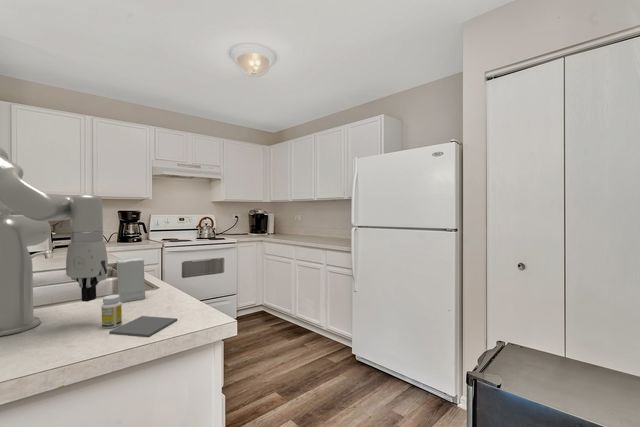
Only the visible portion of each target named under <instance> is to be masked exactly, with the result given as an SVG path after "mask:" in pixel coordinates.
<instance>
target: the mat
mask: <svg viewBox="0 0 640 427" xmlns="http://www.w3.org/2000/svg"><path fill="white" fill-rule="evenodd" d="M177 321H178V318H174V317H161V316H160V317H159V316H148V315H141V316H139V317H137V318H135V319H132V320H130V321H129V322H127V323H125V324H121V325H120V326H117V327H114V328H112V329H110V331H109V332H108V333H109V335H110V334H111V335H122V336H132V337H133V336H134V337H144V338H150V337H151V336H153V335H155V334H156V333H158V332H160V331H162V330H164V329H165V328H168V327H169V326H171V325H173V324H174V323H176V322H177Z"/></svg>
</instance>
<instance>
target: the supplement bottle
mask: <svg viewBox="0 0 640 427" xmlns="http://www.w3.org/2000/svg"><path fill="white" fill-rule="evenodd" d="M102 303H103V304H102V305H101V327H102V328H103V329H115V328H118V327H120V326H122V325H123V324H122V323H123V318H122V317H123V316H122V315H123V314H122V313H123V312H122V303H121V302H120V296H119V295H118V294H110V295H106V296H103V297H102Z"/></svg>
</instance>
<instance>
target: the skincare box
mask: <svg viewBox="0 0 640 427" xmlns="http://www.w3.org/2000/svg"><path fill="white" fill-rule="evenodd" d="M116 276H117V278H116V279H117V295H119V296H120V302H122V303H127V302H132V301H133V302H134V301H137V300H144V299H146V284H145V282H146V280H145V259H143V258H142V257H134V258H128V259H118V260H116Z"/></svg>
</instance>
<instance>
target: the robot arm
mask: <svg viewBox="0 0 640 427" xmlns="http://www.w3.org/2000/svg"><path fill="white" fill-rule="evenodd" d="M23 176H24V170H23V168H22V167H21V166H20V165H18V164H17V163H14V162H13V161H11V160H10V159H9V156H8V153H7V152H6V151H5V150H4V149H3V148H2V147H1V146H0V337H2V336H8V335H9V336H10V335H14V334H17V333H21V332H26V331H27V330H28V331H29V330H30V329H33V328H35V327H37V326H39V325H40V324H41V321H42V320H41V317H39V316H35V315H34V278H33V277H34V273H33V272H34V271H33V260H32V256H31V253H30V252H29V249H28V247H33V246H37V245H40V244H43V243H44V242H46V241H47V240H48V239H49V238H50V237H51V234H52V227H51V224H50V223H49V222H54V221H55V222H57V221H58V222H59V221H67V220H69V221H70V222H69V224H70V236H69V237H70V242H69V243H68V246H67V250H66V259H65V275H66V276H67V277H69V278H71V280H73V281H74V282H75V281H76V282H77V283H78V286H79V288H81V302H91V301H94V300H96V299H97V286H99V283H100V282H102V281H105V280H106V279H107V275H106V274H108V272H109V263H108V262H109V261H108V253H107V252H108V251H107V246H106V243H105V241H104V222H103V220H104V217H103V216H104V215H103V214H104V213H103V200H102V197H101V196H99V195H95V194H75V195H69V194H57V193H45V192H42V191H40V190H39V189H37V188H36V187H34V186H32V185H30V184H29V183H27V182H25V181H24V180H23Z"/></svg>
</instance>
